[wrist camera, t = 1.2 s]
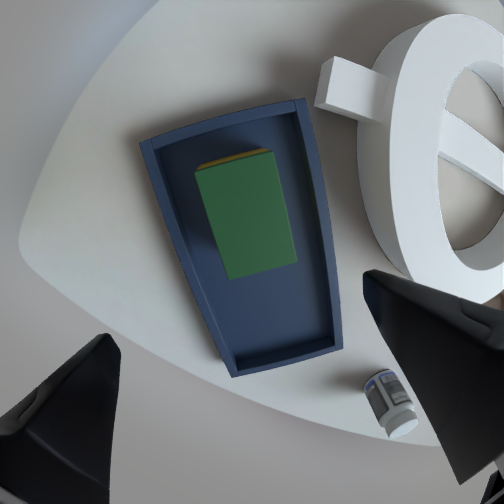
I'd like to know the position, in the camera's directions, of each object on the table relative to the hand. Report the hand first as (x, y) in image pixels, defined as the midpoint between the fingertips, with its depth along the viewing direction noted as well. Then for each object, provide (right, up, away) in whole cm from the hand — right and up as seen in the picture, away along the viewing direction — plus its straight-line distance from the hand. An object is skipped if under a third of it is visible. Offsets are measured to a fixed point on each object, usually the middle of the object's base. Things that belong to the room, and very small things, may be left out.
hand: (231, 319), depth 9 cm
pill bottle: (+17, -15, +22) cm, 32 cm away
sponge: (0, +6, +11) cm, 12 cm away
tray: (+1, +2, +13) cm, 13 cm away
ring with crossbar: (+22, +11, +11) cm, 27 cm away
